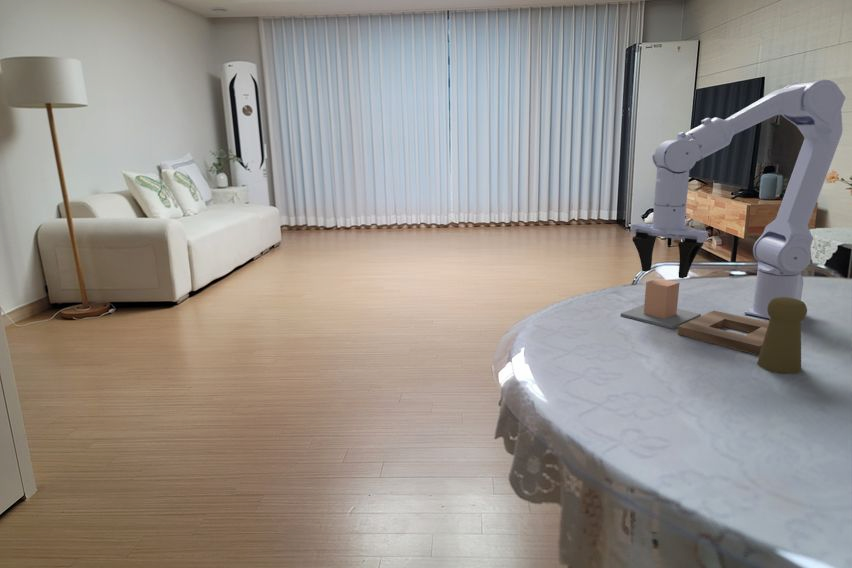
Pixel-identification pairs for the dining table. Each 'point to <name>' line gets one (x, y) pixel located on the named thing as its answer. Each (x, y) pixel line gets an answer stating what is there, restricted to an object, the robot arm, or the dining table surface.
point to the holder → (710, 332)
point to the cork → (783, 336)
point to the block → (661, 298)
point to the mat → (669, 322)
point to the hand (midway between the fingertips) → (664, 273)
